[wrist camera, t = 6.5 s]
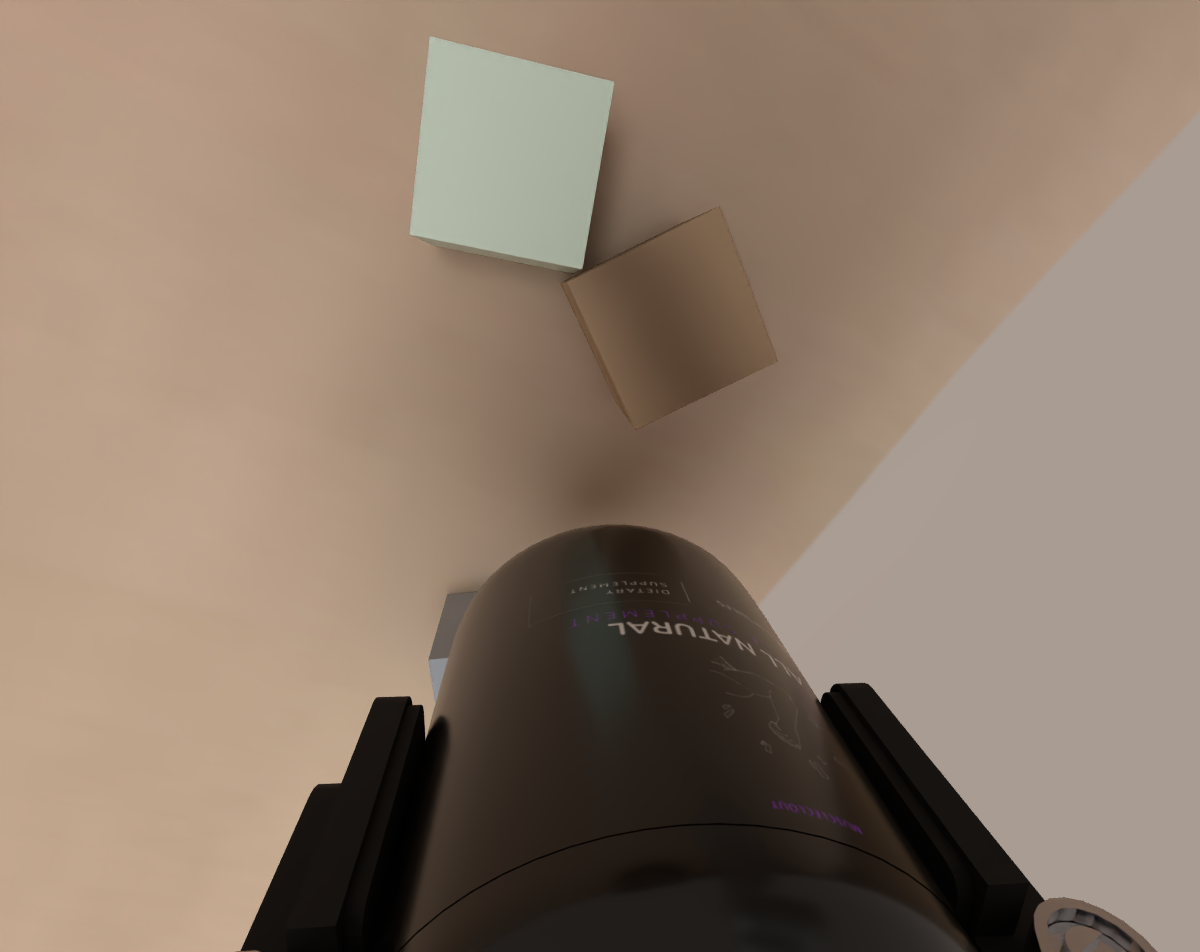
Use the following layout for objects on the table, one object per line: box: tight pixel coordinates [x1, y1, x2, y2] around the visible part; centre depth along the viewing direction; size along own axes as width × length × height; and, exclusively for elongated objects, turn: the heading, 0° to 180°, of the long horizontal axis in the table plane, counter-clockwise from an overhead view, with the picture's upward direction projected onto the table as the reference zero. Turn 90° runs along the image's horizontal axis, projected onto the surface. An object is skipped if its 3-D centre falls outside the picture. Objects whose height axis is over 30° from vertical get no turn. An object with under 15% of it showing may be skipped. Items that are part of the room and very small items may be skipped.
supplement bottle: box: [369, 525, 978, 952], centre depth 8 cm, size 7×7×12 cm
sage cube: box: [410, 36, 614, 273], centre depth 20 cm, size 5×5×5 cm
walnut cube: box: [561, 206, 778, 430], centre depth 22 cm, size 5×5×5 cm
